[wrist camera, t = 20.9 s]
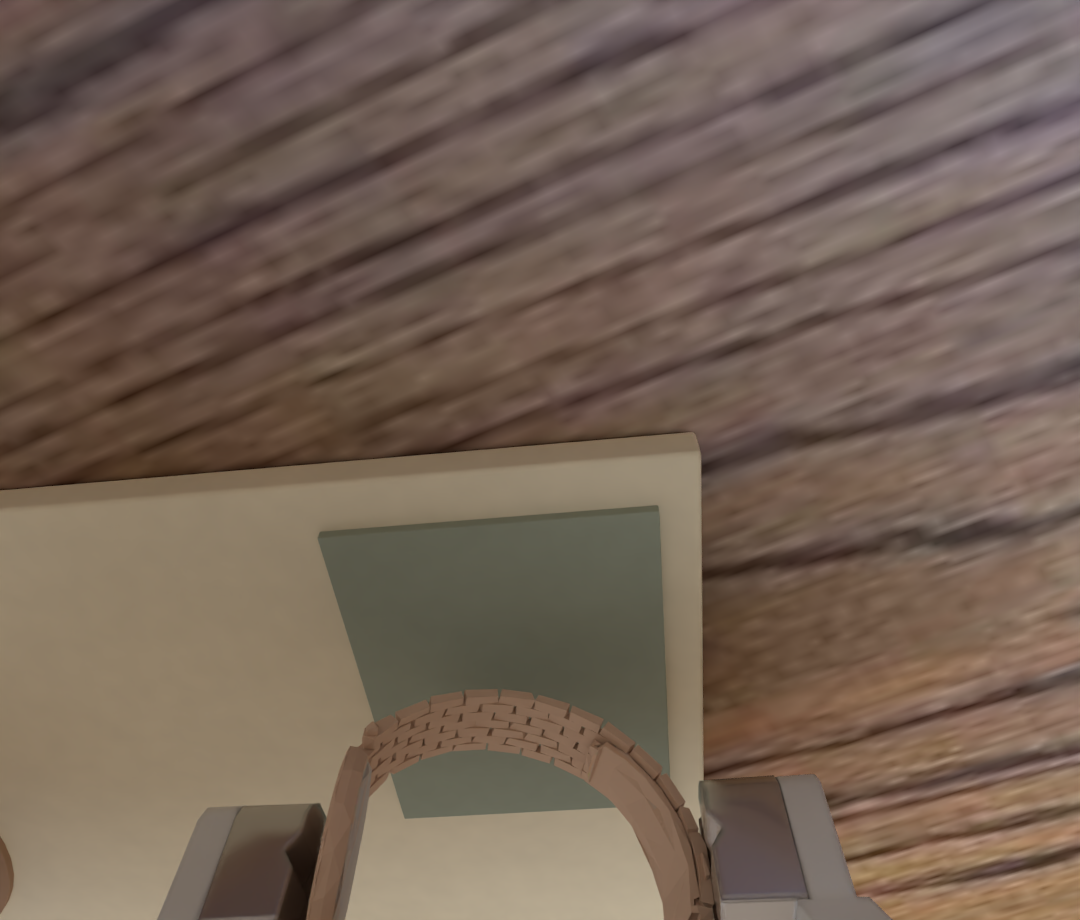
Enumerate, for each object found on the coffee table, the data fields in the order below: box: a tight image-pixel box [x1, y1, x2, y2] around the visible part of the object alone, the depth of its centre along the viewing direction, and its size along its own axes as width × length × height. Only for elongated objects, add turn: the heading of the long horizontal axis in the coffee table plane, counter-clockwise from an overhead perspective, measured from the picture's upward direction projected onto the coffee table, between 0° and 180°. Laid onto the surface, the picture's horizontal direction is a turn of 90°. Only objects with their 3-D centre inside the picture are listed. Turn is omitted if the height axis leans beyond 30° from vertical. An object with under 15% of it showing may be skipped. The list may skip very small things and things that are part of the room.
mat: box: [0, 432, 704, 920], centre depth 16 cm, size 14×22×1 cm, turn 96°
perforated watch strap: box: [306, 689, 715, 920], centre depth 11 cm, size 3×5×5 cm, turn 78°
